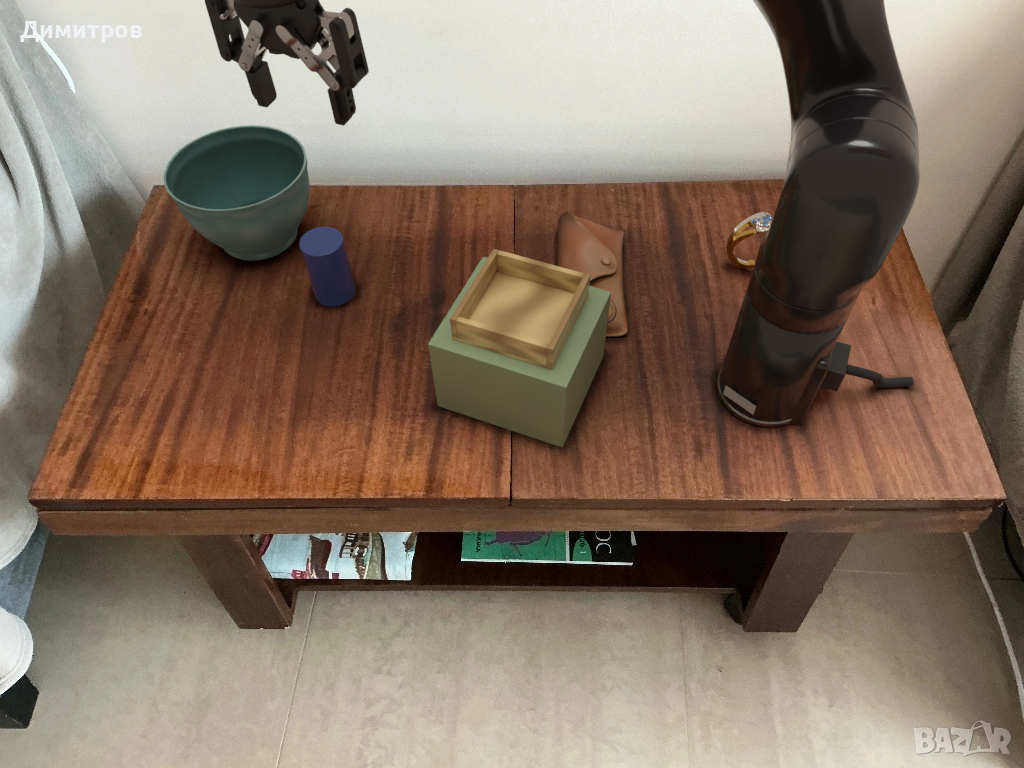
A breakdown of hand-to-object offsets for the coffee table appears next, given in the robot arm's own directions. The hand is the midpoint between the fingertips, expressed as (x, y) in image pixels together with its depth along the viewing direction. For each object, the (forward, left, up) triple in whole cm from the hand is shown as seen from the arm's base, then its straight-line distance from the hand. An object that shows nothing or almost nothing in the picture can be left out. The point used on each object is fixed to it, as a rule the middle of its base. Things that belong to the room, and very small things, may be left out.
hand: (306, 111), depth 74 cm
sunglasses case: (-26, -11, -24) cm, 37 cm away
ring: (-43, -20, -24) cm, 53 cm away
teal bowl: (+15, -3, -24) cm, 28 cm away
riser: (-24, +6, -23) cm, 34 cm away
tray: (-24, +6, -13) cm, 28 cm away
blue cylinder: (+1, +2, -23) cm, 23 cm away
